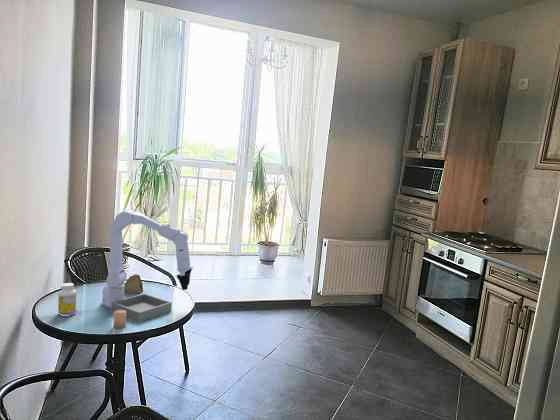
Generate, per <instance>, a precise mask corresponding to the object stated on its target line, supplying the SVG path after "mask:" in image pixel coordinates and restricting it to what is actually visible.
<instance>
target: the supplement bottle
mask: <svg viewBox="0 0 560 420" xmlns="http://www.w3.org/2000/svg"><path fill="white" fill-rule="evenodd" d="M74 288H75V284H74V283H72V282H65V283H61V290H59V292H58V304H57V305H58V306H57V307H58V308H57V312H58V313H60V314H62V315H72V316H73V314H74V315H75V314H76V313H77V290H76V289H74ZM58 313H57V314H58Z"/></svg>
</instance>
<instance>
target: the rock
mask: <svg viewBox="0 0 560 420" xmlns="http://www.w3.org/2000/svg"><path fill="white" fill-rule="evenodd" d="M124 284H125V291H124V295H129V294H142V293H143V292H144V288H143V287H144V286H143V282H142V279H141V277H140V274H132V275H131V276H128V278H127V279H126V280H125V281H124Z"/></svg>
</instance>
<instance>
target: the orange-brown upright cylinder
mask: <svg viewBox="0 0 560 420" xmlns="http://www.w3.org/2000/svg"><path fill="white" fill-rule="evenodd" d="M126 324H127V317H126V311H125V310H116V311H114V312H113V325H112V326H113V328H114V329H117V330H118V329H120V330H121V329H124V328H125V327H126Z"/></svg>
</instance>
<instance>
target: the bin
mask: <svg viewBox="0 0 560 420" xmlns="http://www.w3.org/2000/svg"><path fill="white" fill-rule="evenodd" d="M172 304H173V303H172V301H169V300H165V299H162V298H160V297H156V296H153V295H152V294H151V295H150V294H147V293H140V294H138V295H134V296H131V297H127V298H126V297H125V298H124V299H122V300H119V301H115V302H112V303H111V308H110V309H111V313H114V311H116V310H125V311H126V319H127V318H128V319H131V320H133V321H135V322H139V323H141V322H143V321H146V320H149V319H152V318H155V317H157V316H158V317H159V316H160V315H163V314H166V313H167V314H168V313H169V312H172V306H173V305H172Z"/></svg>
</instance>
